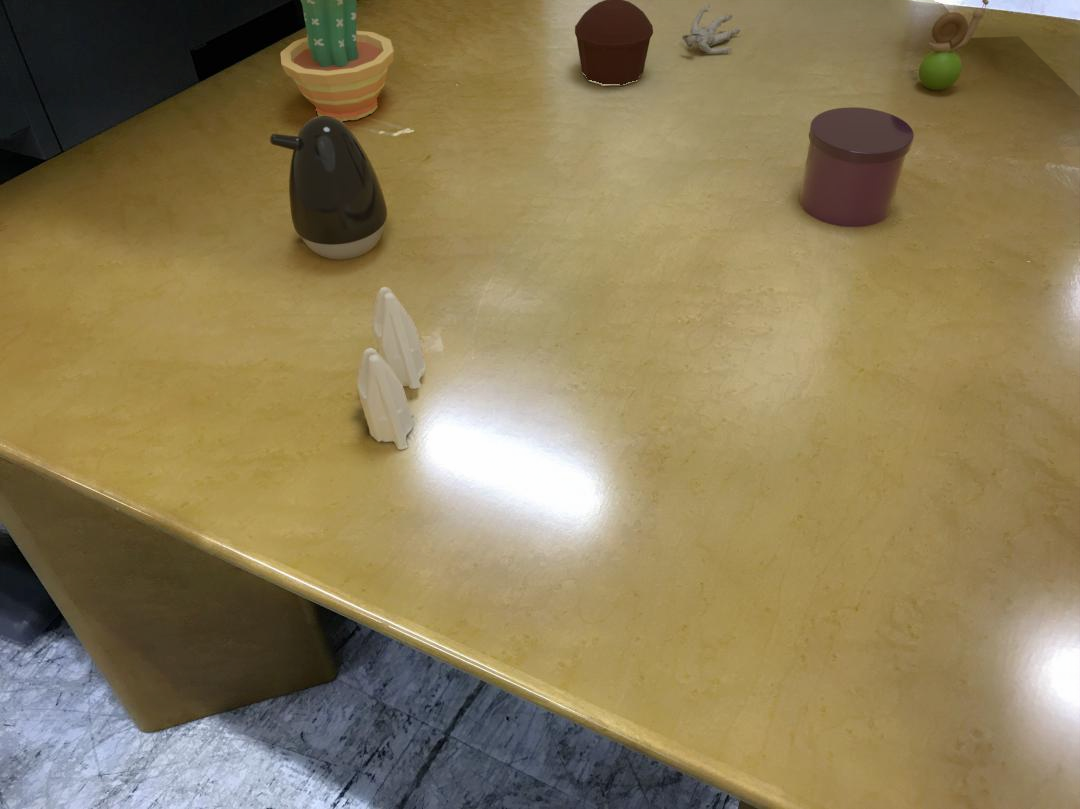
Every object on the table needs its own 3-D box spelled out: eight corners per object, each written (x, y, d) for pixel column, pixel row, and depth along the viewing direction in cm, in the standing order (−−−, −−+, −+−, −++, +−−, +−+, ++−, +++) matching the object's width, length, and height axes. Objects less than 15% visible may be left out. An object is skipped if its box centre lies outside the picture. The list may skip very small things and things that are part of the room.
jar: (883, 195, 106) (907, 109, 98) (894, 245, 98) (920, 156, 91) (791, 190, 107) (807, 104, 100) (795, 239, 100) (813, 150, 92)
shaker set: (389, 358, 86) (371, 262, 79) (432, 360, 86) (418, 263, 78) (361, 448, 78) (337, 350, 70) (408, 450, 77) (390, 352, 70)
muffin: (575, 58, 137) (575, -10, 130) (648, 57, 136) (652, -11, 130) (574, 92, 128) (574, 20, 121) (652, 91, 128) (656, 19, 121)
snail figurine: (967, 96, 124) (996, 6, 116) (921, 97, 124) (946, 8, 116) (954, 79, 128) (980, -8, 120) (909, 80, 128) (932, -7, 120)
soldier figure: (750, 47, 141) (722, 48, 131) (724, 65, 144) (695, 67, 134) (727, 2, 141) (697, 0, 131) (701, 21, 144) (671, 20, 134)
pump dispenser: (292, 232, 103) (261, 106, 93) (381, 215, 105) (360, 89, 95) (305, 281, 96) (273, 150, 86) (400, 261, 98) (380, 131, 88)
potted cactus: (408, 83, 132) (383, -107, 115) (393, 132, 121) (364, -71, 104) (304, 85, 132) (264, -104, 115) (280, 133, 121) (232, -68, 104)
